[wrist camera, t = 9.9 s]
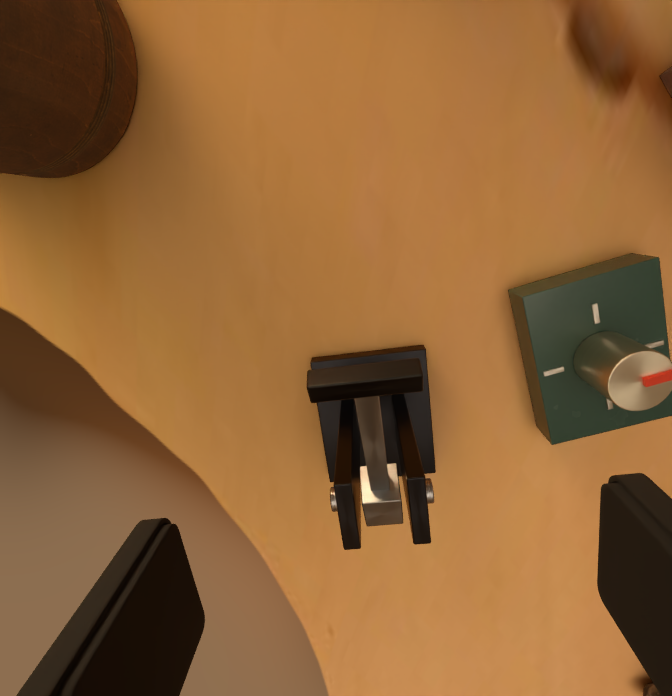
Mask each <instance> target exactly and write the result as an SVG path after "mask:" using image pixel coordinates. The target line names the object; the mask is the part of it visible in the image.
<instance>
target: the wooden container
mask: <svg viewBox="0 0 672 696" xmlns="http://www.w3.org/2000/svg"><path fill="white" fill-rule="evenodd" d="M136 87H137V66H136V56H135V50H134V46H133V42H132V38H131V35H130V31H129V28H128V25H127V23H126V20H125V18H124V16H123V13H122V11H121V9H120V7H119V5H118V3H117V1H116V0H0V173H5V174H14V175H22V176H31V177H43V178H58V177H65V176H70V175H73V174H77V173H79V172H82V171H84V170H86V169H88V168H90V167H92V166H93V165H95V164H96V163H97V162H99V161H100V160H102V159H103V158H104V157H105V156H106V155H107V154H108V153H109V152H110V151H111V150H112V149H113V148H114V146H115V145H116V144H117V143H118V141H119V140H120V138H121V137H122V135H123V133H124V131H125V129H126V127H127V125H128V122H129V119H130V116H131V113H132V110H133V106H134V101H135V95H136Z"/></svg>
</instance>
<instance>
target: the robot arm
mask: <svg viewBox="0 0 672 696" xmlns="http://www.w3.org/2000/svg"><path fill="white" fill-rule="evenodd" d="M597 584H598V591H599V594H600V597H601V599H602V601H603V603H604V605H605V607H606V608H607V610H608V611H609V613H610V615H611V616H612V618H613V619H614V621H615V623H616V624H617V626H618V627H619V629H620V631H621V632H622V634H623V635H624V637H625V639H626V640H627V642H628V643H629V645H630V647H631V648H632V650H633V651H634V653H635V655H636V656H637V658H638V659H639V661H640V663H641V664H642V666H643V667H644V669H645V671H646V672H647V674H648V675H649V677H650V679H651V680H652V682H653V683H654V685H655V687H656V688H657V690H658V691H659V693H660V695H661V696H672V499H671V498H670V497H669V496H668V495H667V494H666V493H665V492H664V491H663V490H662V489H660V488H659V487H658V486H657V485H656V484H655V483H654V482H653V481H652V480H651V479H650V478H648V477H647V476H646V475H644V474H642V473H635V474H625V475H614V476H611V477H610V478H609V481H608V483H607V484H603V485H602V487H601V501H600V527H599V553H598V579H597ZM204 623H205V615H204V610H203V607H202V604H201V601H200V597H199V594H198V591H197V588H196V584H195V581H194V578H193V575H192V571H191V568H190V565H189V562H188V558H187V555H186V552H185V549H184V546H183V542H182V539H181V536H180V532H179V529H178V527H177V525H176V524H171V522H170V521H169V520H168V519H167V518H160V519H151V520H142V521H140V522H139V523H138V524H137V525H136V527H135V528H134V529H133V531H132V532H131V534H130V535H129V537H128V538H127V539H126V541H125V542H124V544H123V545H122V546H121V548H120V549H119V551H118V552H117V553H116V555H115V556H114V558H113V559H112V561H111V562H110V563H109V565H108V566H107V568H106V569H105V571H104V572H103V573H102V575H101V576H100V578H99V579H98V581H97V582H96V583H95V585H94V586H93V588H92V589H91V591H90V592H89V593H88V595H87V596H86V598H85V599H84V600H83V602H82V603H81V605H80V606H79V608H78V609H77V610H76V612H75V613H74V615H73V616H72V617H71V619H70V620H69V622H68V623H67V625H66V626H65V627H64V629H63V630H62V632H61V633H60V635H59V636H58V637H57V639H56V640H55V642H54V643H53V644H52V646H51V647H50V649H49V650H48V651H47V653H46V654H45V656H44V657H43V658H42V660H41V661H40V663H39V664H38V666H37V667H36V668H35V670H34V671H33V673H32V674H31V676H30V677H29V678H28V680H27V681H26V683H25V684H24V686H23V687H22V688H21V690H20V691H19V693H18V694H17V696H179V695H180V692H181V689H182V687H183V684H184V681H185V679H186V676H187V673H188V670H189V667H190V665H191V662H192V659H193V657H194V654H195V651H196V648H197V646H198V643H199V641H200V638H201V635H202V632H203V629H204Z"/></svg>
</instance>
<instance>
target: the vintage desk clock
mask: <svg viewBox="0 0 672 696" xmlns="http://www.w3.org/2000/svg"><path fill="white" fill-rule="evenodd" d="M643 696H661V695H660V693H659V691H658V690H657V688H656V687H655V685H654V683H651V684H646V685H645V687H644V690H643Z"/></svg>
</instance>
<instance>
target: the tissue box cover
mask: <svg viewBox="0 0 672 696" xmlns="http://www.w3.org/2000/svg"><path fill="white" fill-rule="evenodd" d="M660 77H661V79H662V81H663V83H664V85H665V87H666V88H667V90H668V92H669V94H670V96H671V98H672V66H671V67H670V68H669V69H667V70H666V71H665V72H663V73H662V74H661V75H660Z"/></svg>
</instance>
